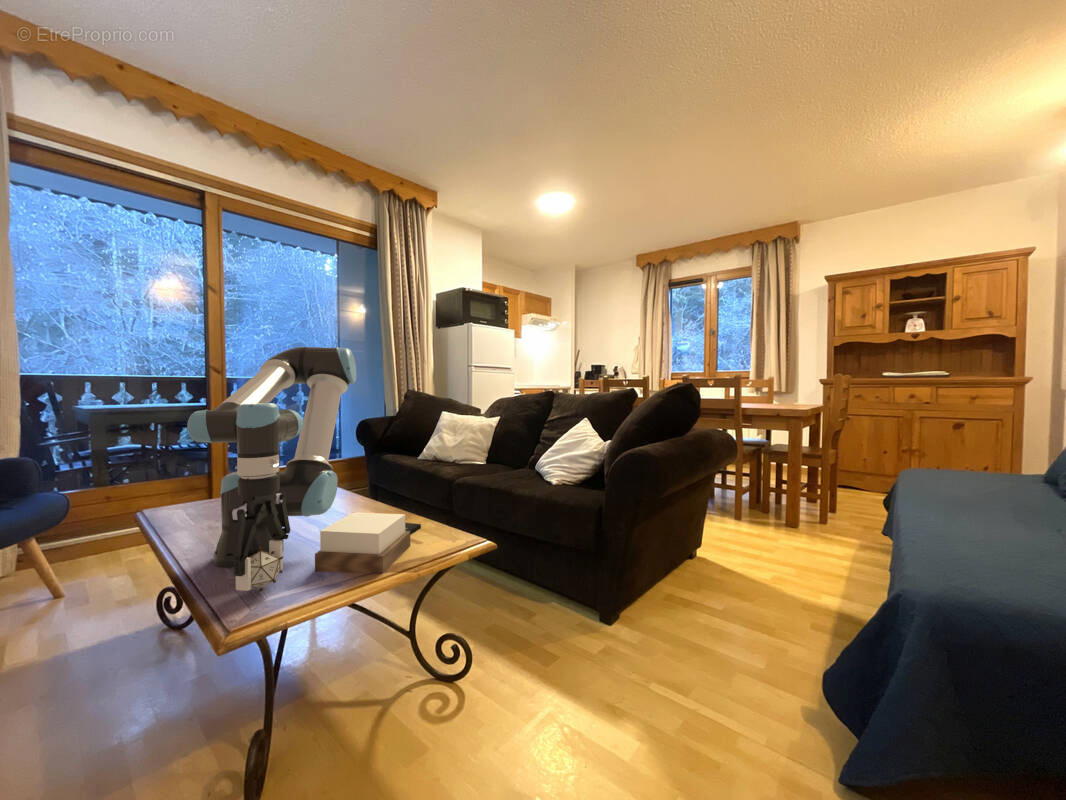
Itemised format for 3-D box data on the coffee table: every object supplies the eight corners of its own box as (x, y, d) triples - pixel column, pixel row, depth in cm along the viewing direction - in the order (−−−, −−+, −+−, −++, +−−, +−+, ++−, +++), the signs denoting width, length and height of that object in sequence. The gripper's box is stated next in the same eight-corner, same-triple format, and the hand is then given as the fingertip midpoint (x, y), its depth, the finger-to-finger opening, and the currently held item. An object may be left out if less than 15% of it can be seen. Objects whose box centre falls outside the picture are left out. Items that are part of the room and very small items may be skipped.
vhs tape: (371, 544, 118) (371, 538, 118) (399, 528, 132) (399, 522, 132) (395, 547, 116) (395, 540, 116) (420, 530, 130) (420, 524, 130)
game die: (266, 603, 85) (265, 555, 85) (225, 602, 85) (224, 554, 85) (292, 582, 94) (292, 539, 93) (255, 582, 94) (255, 538, 94)
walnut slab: (315, 574, 99) (314, 553, 99) (351, 546, 116) (351, 529, 116) (383, 577, 98) (383, 556, 98) (410, 549, 115) (410, 531, 115)
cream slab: (320, 551, 101) (320, 531, 100) (353, 530, 115) (353, 512, 115) (379, 554, 99) (378, 533, 99) (405, 532, 114) (405, 514, 114)
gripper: (235, 487, 78) (237, 605, 78) (307, 465, 99) (308, 558, 100) (198, 486, 78) (200, 604, 79) (277, 465, 100) (278, 557, 100)
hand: (260, 578), depth 89 cm, fingers closed on game die, 9 cm apart
